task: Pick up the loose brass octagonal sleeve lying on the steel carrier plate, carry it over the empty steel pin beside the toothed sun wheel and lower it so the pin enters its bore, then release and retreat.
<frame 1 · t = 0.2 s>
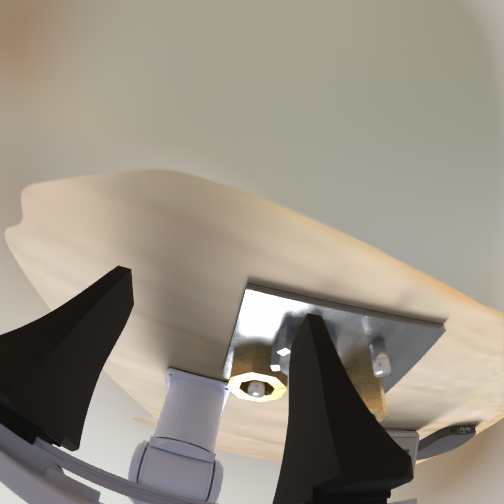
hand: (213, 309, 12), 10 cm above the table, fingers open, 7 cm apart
digital clock: (380, 432, 41), on the table
brass octagonal sleeve: (356, 380, 29), point 1 cm above the table, touching carrier
media streaming box: (439, 437, 45), on the table
carrier: (330, 354, 28), on the table
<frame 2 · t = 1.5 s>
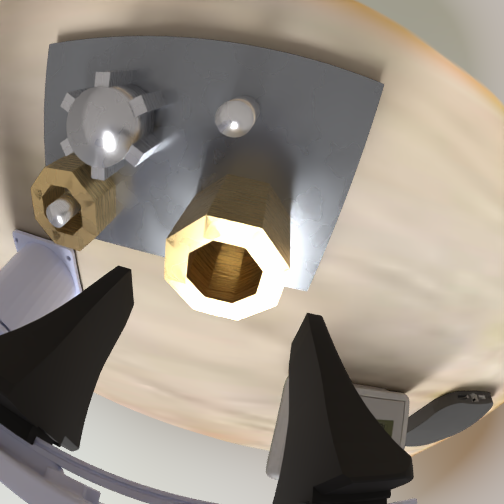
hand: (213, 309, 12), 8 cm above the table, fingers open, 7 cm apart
digital clock: (345, 390, 29), on the table
brass octagonal sleeve: (239, 221, 18), point 1 cm above the table, touching carrier
media streaming box: (441, 412, 33), on the table
carrier: (176, 155, 16), on the table
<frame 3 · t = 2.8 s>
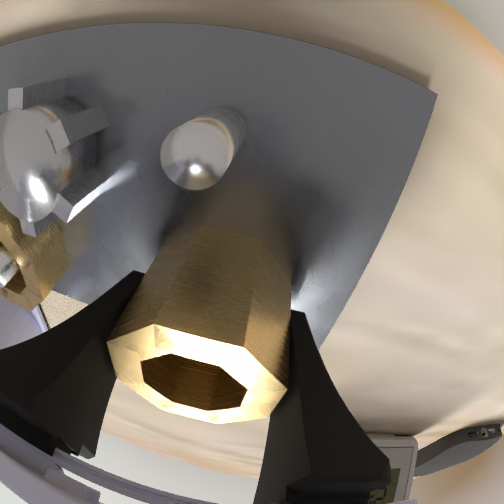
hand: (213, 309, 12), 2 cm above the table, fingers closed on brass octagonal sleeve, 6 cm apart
digital clock: (349, 437, 24), on the table
brass octagonal sleeve: (220, 286, 13), point 1 cm above the table, touching carrier, gripper
media streaming box: (448, 444, 29), on the table
carrier: (132, 194, 12), on the table
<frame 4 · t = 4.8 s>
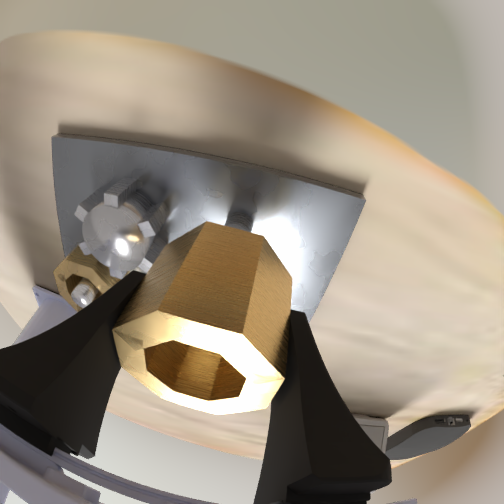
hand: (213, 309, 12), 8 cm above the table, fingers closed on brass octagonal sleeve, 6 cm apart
digital clock: (332, 416, 32), on the table
brass octagonal sleeve: (224, 281, 13), point 6 cm above the table, touching gripper
media streaming box: (422, 431, 37), on the table
carrier: (181, 250, 20), on the table
when the fingers open (4 cm above the table, at t = 6.6 s): brass octagonal sleeve moves 1 cm, resting on carrier.
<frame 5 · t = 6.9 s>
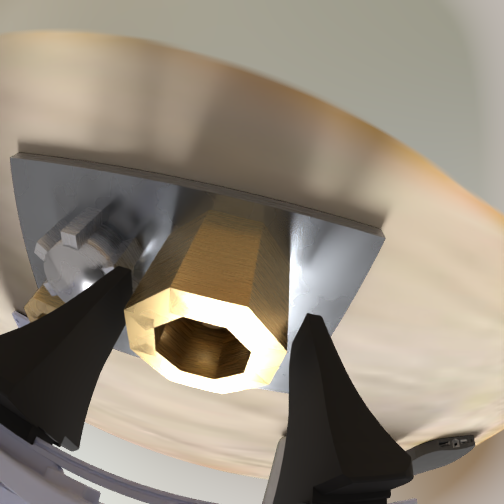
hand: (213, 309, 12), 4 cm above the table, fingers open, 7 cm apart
digital clock: (333, 444, 29), on the table
brass octagonal sleeve: (225, 267, 14), point 1 cm above the table, touching carrier
media streaming box: (425, 451, 34), on the table
carrier: (161, 289, 17), on the table
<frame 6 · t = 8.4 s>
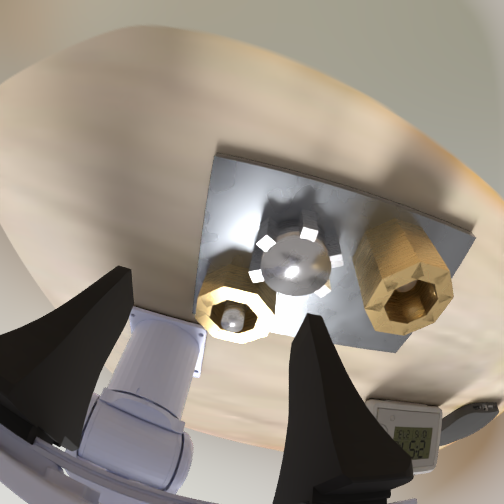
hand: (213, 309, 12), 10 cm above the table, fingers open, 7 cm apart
digital clock: (398, 407, 35), on the table
brass octagonal sleeve: (391, 255, 20), point 1 cm above the table, touching carrier
media streaming box: (458, 419, 39), on the table
carrier: (331, 273, 22), on the table
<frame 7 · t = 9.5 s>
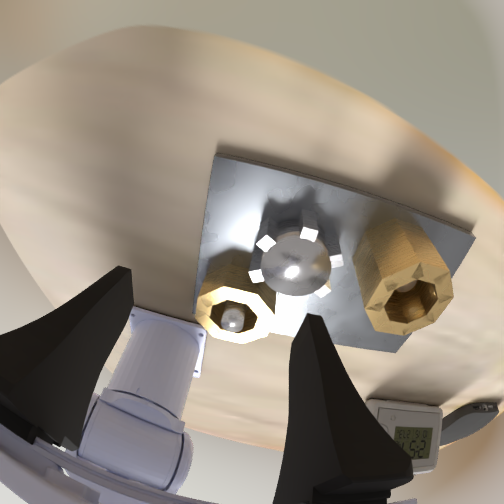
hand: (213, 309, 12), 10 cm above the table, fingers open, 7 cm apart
digital clock: (398, 407, 35), on the table
brass octagonal sleeve: (391, 255, 20), point 1 cm above the table, touching carrier
media streaming box: (458, 419, 39), on the table
carrier: (331, 273, 22), on the table
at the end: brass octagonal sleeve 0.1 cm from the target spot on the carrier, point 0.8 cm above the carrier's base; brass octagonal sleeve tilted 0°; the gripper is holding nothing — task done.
